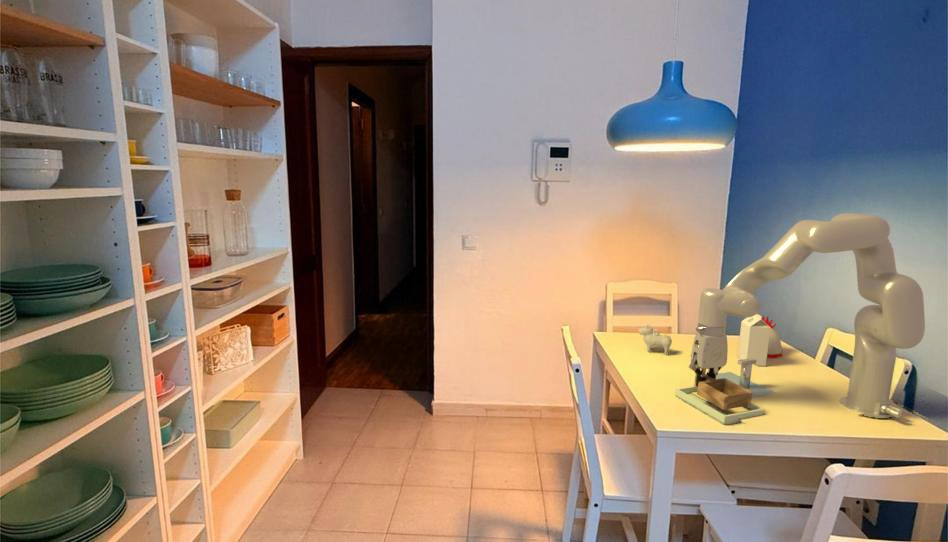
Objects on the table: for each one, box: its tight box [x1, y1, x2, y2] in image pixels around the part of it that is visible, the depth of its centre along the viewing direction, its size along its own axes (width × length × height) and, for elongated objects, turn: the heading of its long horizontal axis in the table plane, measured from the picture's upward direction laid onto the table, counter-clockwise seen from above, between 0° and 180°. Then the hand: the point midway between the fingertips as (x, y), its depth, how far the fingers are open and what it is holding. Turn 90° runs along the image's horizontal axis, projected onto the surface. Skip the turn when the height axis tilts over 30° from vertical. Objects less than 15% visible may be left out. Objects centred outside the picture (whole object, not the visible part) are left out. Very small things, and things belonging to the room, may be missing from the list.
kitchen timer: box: [762, 315, 783, 359], centre depth 192 cm, size 14×14×15 cm
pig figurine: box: [637, 324, 673, 356], centre depth 192 cm, size 5×13×11 cm, turn 61°
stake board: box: [716, 371, 777, 398], centre depth 159 cm, size 18×12×1 cm, turn 18°
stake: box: [737, 358, 756, 389], centre depth 156 cm, size 3×6×9 cm, turn 108°
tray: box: [675, 385, 765, 426], centre depth 145 cm, size 19×14×2 cm
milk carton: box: [737, 313, 770, 367], centre depth 179 cm, size 7×7×19 cm
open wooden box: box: [693, 373, 753, 411], centre depth 144 cm, size 15×10×4 cm, turn 18°
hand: (705, 386), depth 149 cm, fingers closed on open wooden box, 3 cm apart
